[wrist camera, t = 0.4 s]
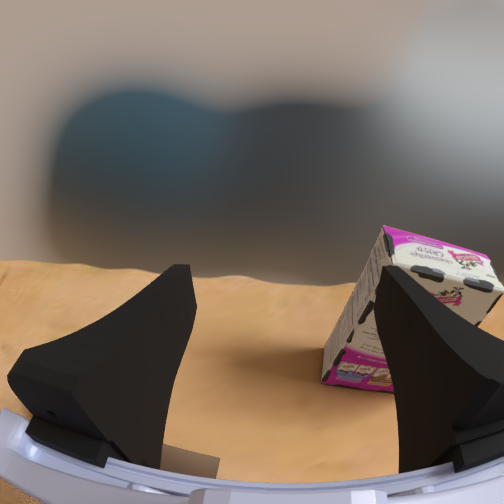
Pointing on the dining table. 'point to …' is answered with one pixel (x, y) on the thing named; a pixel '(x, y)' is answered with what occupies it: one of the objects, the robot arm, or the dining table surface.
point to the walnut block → (188, 462)
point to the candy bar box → (427, 275)
